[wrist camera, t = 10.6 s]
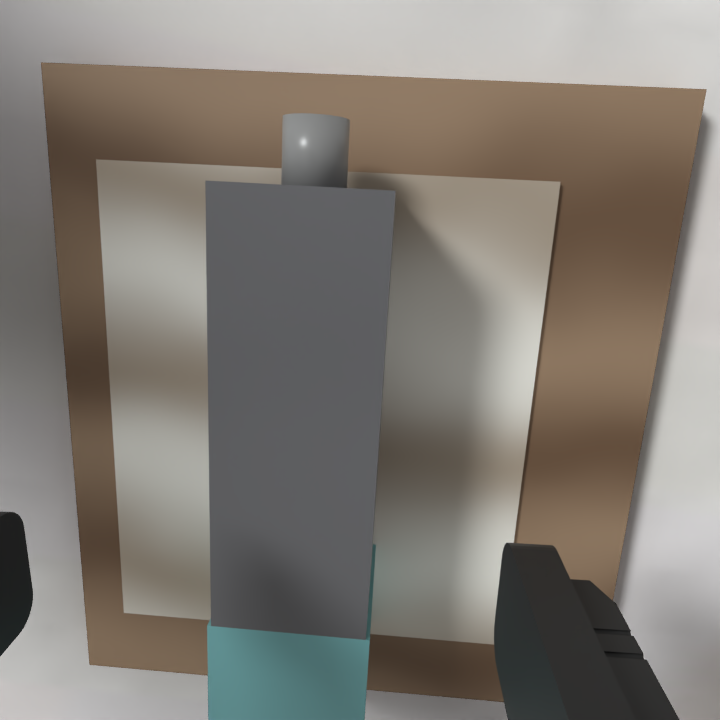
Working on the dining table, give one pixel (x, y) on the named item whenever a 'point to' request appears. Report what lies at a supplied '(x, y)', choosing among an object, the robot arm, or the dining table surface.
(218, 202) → the marker
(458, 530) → the writing board
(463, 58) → the dining table surface
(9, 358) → the dining table surface
